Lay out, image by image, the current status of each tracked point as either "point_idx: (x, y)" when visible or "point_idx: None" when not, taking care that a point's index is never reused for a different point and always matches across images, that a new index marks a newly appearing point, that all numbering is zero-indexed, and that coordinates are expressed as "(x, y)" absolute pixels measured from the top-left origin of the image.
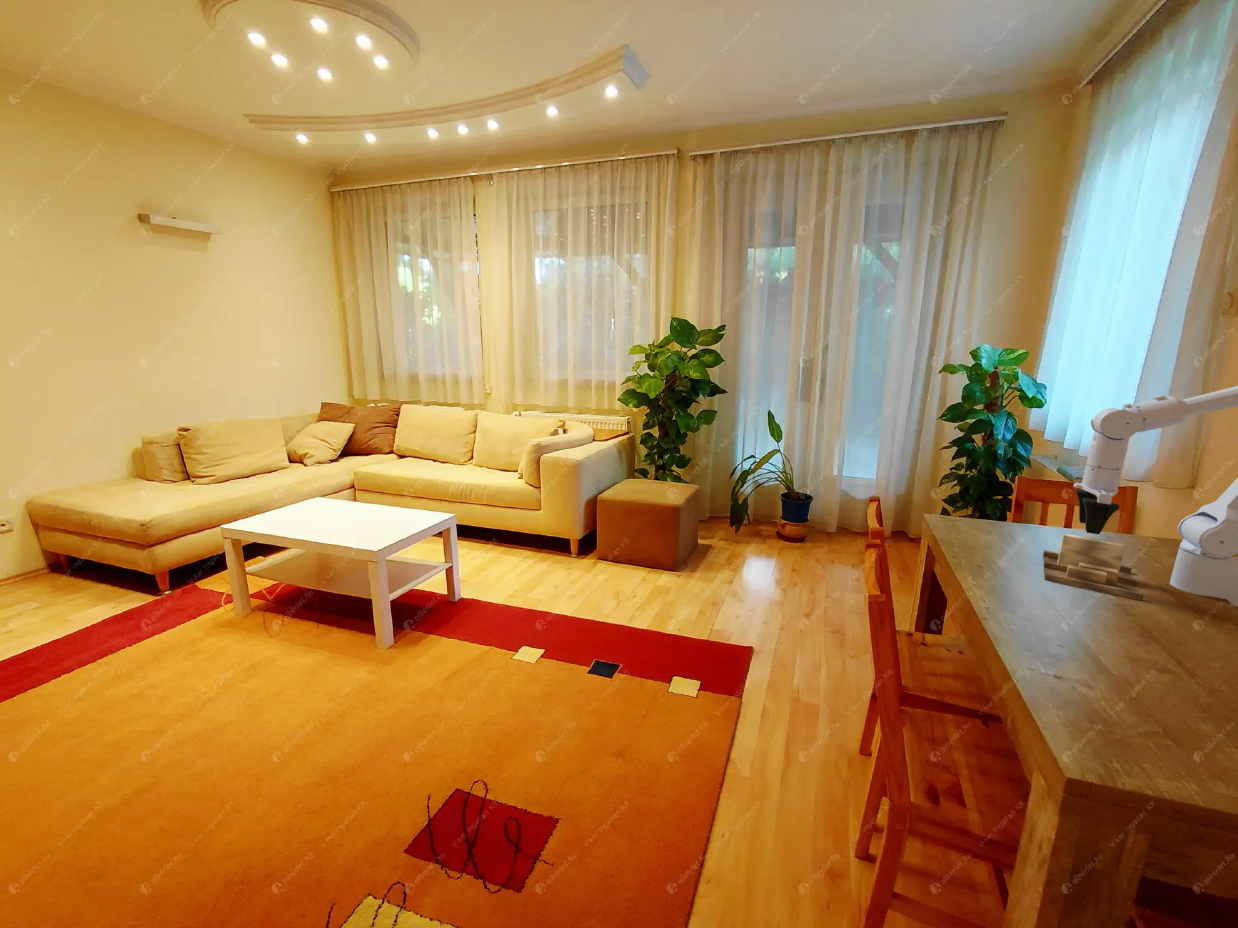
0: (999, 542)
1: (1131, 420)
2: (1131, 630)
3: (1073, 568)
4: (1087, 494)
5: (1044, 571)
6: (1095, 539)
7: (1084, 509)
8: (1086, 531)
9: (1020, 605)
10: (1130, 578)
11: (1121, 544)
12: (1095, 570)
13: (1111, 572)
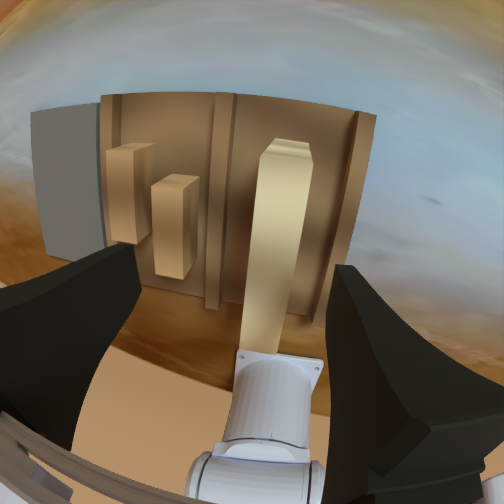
0: (470, 33)
1: None
2: (20, 223)
3: (108, 163)
4: (363, 463)
5: (177, 92)
6: (275, 282)
7: (349, 335)
8: (118, 244)
9: (6, 78)
10: (214, 298)
11: (256, 346)
12: (132, 220)
13: (155, 258)
